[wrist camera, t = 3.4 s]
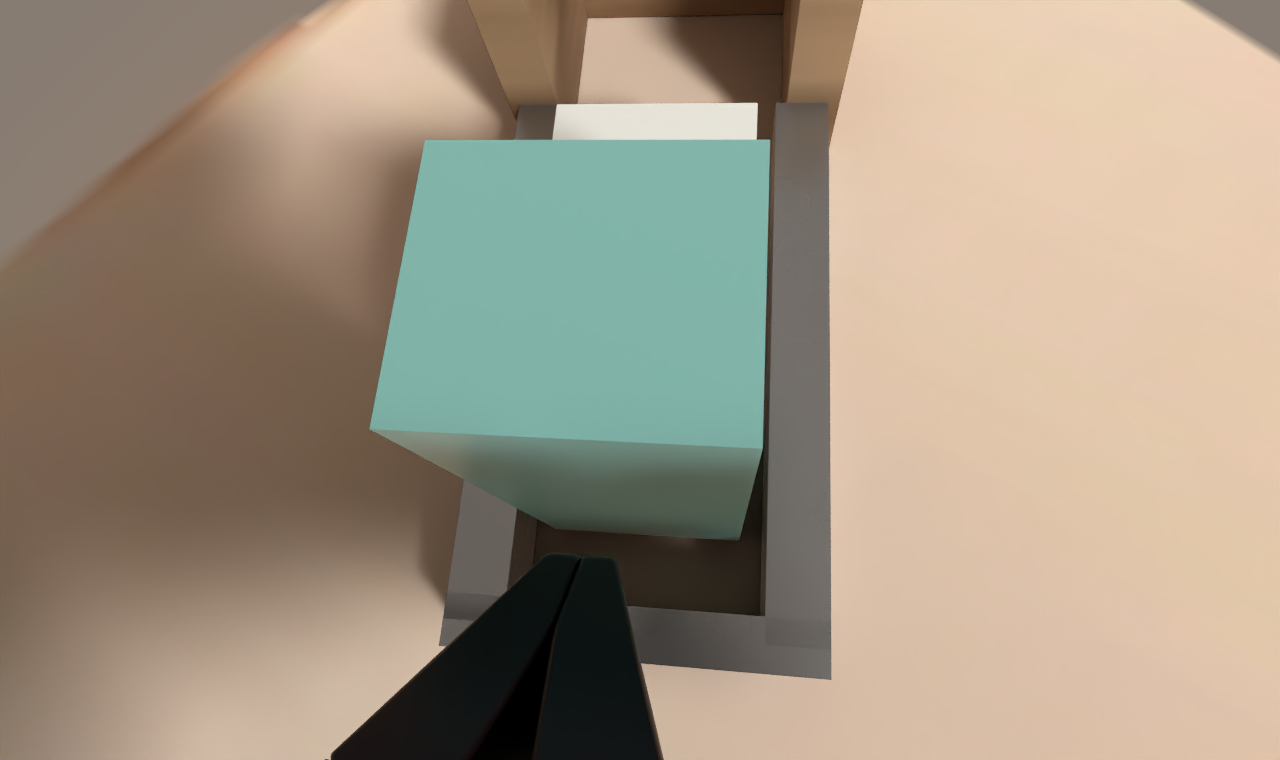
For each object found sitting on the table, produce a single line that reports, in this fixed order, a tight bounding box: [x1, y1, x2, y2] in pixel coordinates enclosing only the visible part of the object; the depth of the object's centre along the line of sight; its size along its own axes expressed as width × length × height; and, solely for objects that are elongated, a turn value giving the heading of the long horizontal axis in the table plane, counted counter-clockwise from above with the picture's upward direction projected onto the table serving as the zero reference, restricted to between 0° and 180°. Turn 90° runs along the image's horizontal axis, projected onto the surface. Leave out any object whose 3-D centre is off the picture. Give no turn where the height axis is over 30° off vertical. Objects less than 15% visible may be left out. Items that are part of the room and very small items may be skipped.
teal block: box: [369, 103, 770, 541], centre depth 13 cm, size 8×4×9 cm, turn 176°
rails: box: [439, 103, 831, 680], centre depth 16 cm, size 12×7×2 cm, turn 176°
